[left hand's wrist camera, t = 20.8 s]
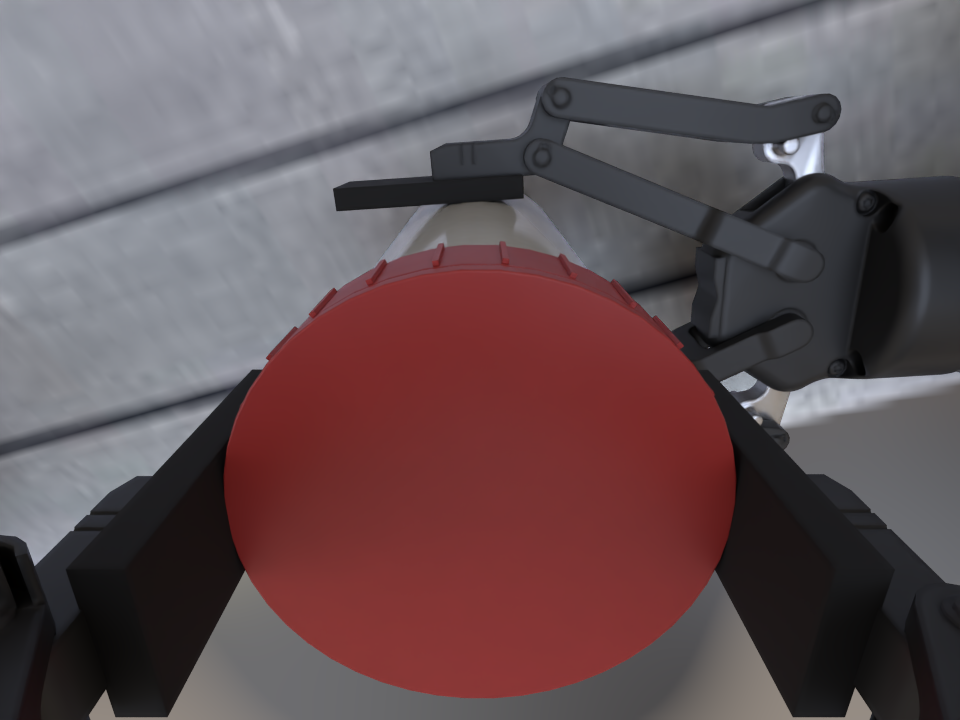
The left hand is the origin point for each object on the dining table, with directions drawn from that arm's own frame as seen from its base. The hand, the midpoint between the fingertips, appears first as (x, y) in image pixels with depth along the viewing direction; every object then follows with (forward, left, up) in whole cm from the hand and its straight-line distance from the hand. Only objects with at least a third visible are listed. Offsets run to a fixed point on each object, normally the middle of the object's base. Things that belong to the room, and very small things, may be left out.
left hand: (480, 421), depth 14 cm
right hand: (-4, -2, -10) cm, 11 cm away
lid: (0, 0, +3) cm, 3 cm away
